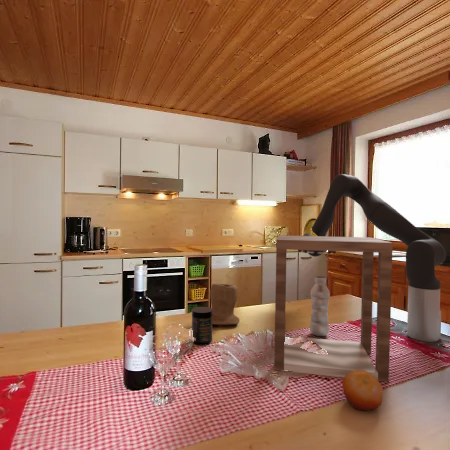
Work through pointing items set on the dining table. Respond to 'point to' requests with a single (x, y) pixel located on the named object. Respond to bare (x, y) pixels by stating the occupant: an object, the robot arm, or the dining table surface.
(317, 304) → the plastic bottle
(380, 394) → the fruit
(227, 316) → the brown ankle boot
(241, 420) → the dining table surface
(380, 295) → the walnut shelf
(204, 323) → the supplement container
